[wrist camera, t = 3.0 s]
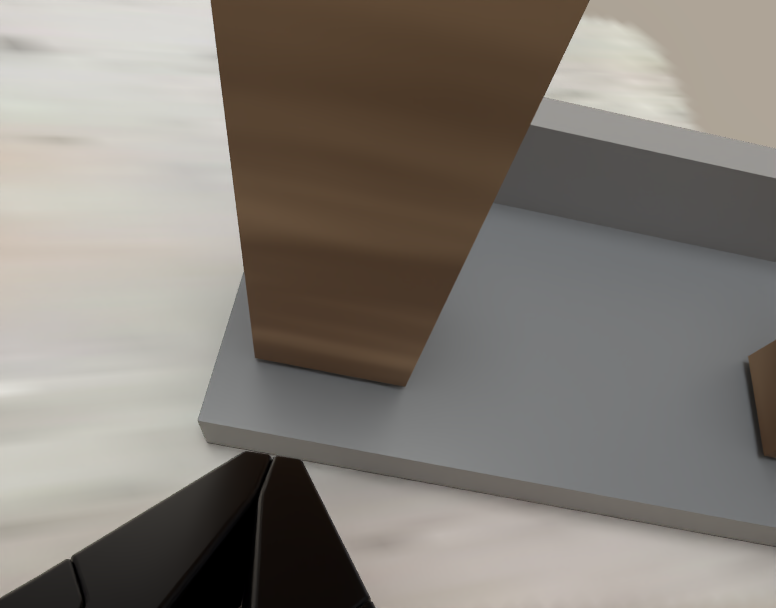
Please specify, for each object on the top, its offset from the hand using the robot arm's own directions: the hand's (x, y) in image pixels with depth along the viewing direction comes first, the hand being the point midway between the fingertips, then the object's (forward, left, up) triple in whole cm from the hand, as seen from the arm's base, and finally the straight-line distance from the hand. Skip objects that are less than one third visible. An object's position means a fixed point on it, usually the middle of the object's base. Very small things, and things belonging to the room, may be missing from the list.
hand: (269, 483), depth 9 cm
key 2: (+6, 0, -6) cm, 8 cm away
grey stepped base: (+8, -7, -8) cm, 14 cm away
